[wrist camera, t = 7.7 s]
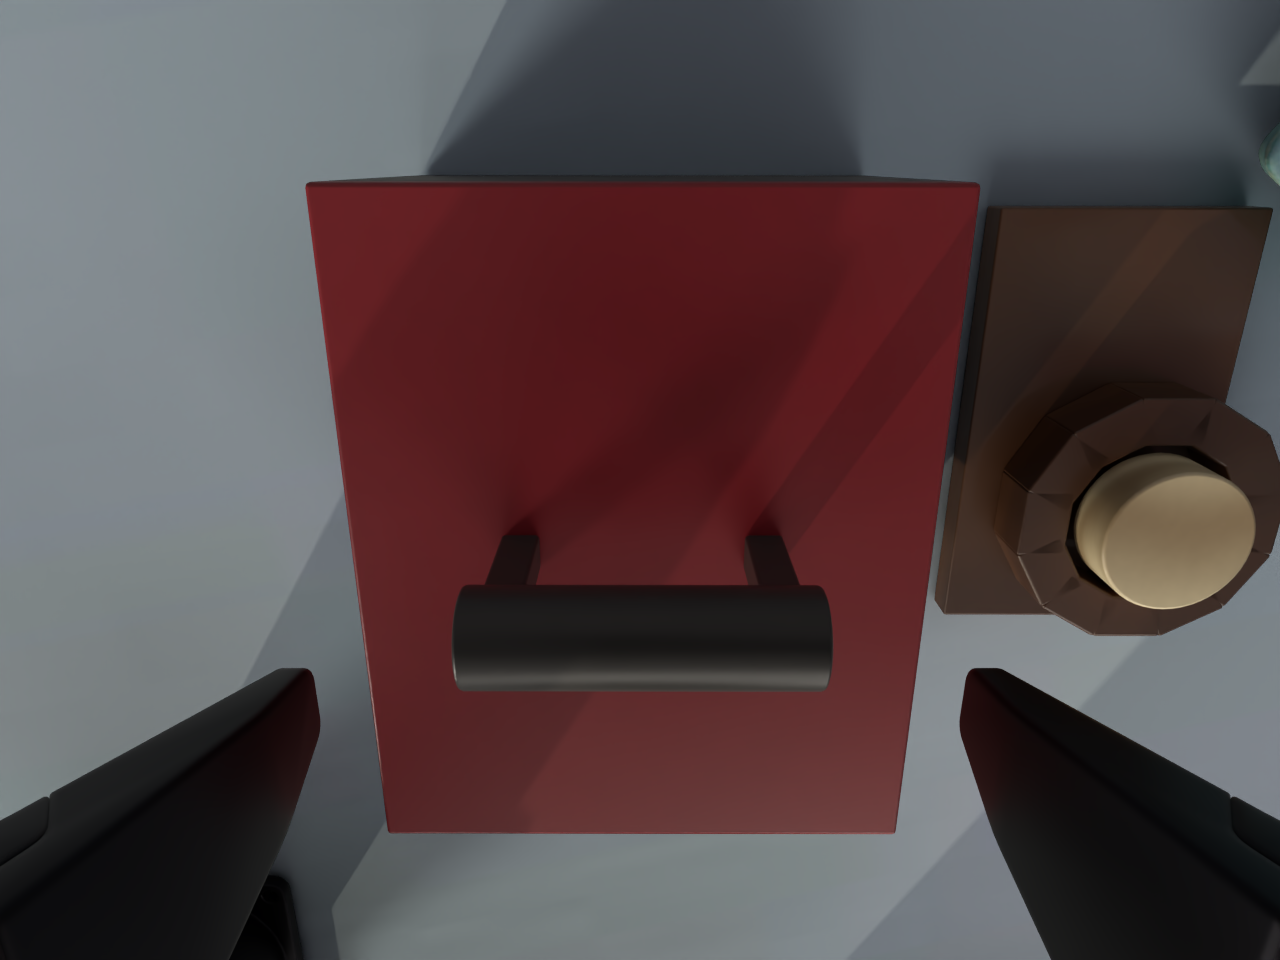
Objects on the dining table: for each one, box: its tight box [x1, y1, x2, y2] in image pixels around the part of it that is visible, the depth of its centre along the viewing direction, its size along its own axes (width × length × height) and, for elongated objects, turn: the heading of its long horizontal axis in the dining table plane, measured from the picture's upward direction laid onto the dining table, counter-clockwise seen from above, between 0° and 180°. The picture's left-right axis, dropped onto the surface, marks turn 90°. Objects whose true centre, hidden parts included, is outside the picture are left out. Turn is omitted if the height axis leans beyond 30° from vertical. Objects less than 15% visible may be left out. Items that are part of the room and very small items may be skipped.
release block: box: [935, 206, 1280, 636], centre depth 22 cm, size 11×8×2 cm
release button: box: [1074, 453, 1256, 609], centre depth 21 cm, size 4×4×2 cm
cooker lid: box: [306, 181, 980, 834], centre depth 15 cm, size 13×11×5 cm
